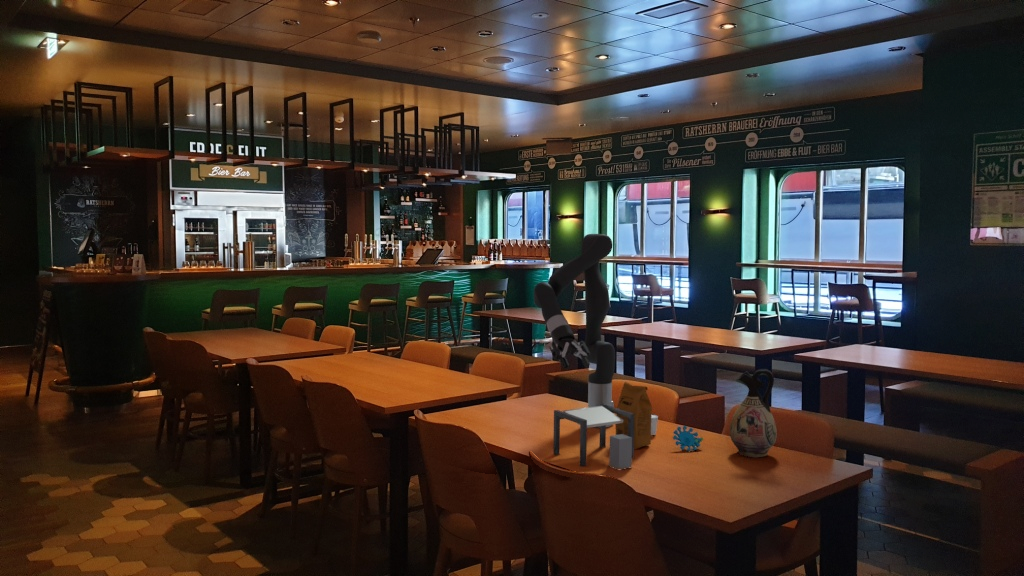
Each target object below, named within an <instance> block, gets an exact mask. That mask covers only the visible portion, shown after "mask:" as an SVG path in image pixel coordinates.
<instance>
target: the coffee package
mask: <svg viewBox="0 0 1024 576" xmlns="http://www.w3.org/2000/svg"><path fill="white" fill-rule="evenodd" d="M622 385H623V386H622V388H621V392H620V395H619V399H618V403H617V405H616V406H617V407H616V408H617V409H621V410H624V411H627V412H630V413H634V414H635V415H634V450H638V449H639V448H642V447H647V446H650V445H651V444H652V441H651V438H652V436H651V414H652V411H653V407H652V406H653V405H652V403H651V400H650V398H649V396H648V392H647V391H648V386H645V385H632V384H630V383H629V382H628V381H625V382H624V383H623V384H622ZM615 415H616V416H618V417H620V418H621V419H623V423H619V424H614V425H615V435H620V434H623V435H626V436H628V418H627V417H624V416H621V415H618V414H615Z"/></svg>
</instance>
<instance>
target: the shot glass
mask: <svg viewBox="0 0 1024 576" xmlns="http://www.w3.org/2000/svg"><path fill="white" fill-rule="evenodd" d="M658 419H659V415H656V414H652V413H651V435H655V434H656V435H657V429H658ZM656 435H655V436H656Z"/></svg>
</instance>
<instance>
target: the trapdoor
mask: <svg viewBox="0 0 1024 576" xmlns="http://www.w3.org/2000/svg"><path fill="white" fill-rule="evenodd" d="M562 412H565V413H568V414H571V415H574V416H576V417H579V418H582V419H585V420H587V429H588V428H598V427H597V426H604V425H611V424H613V425H615V424H619V423H623V419H621V418H620V417H618V416H616V414H615V413H612V412H610V411H609V410H607V409H606V408H604V407H603V406H596V407H588V406H587V407H581V408H573V409H564V410H562ZM576 424H578V423H576ZM578 425H579V426H580V424H578ZM611 426H612V425H611Z"/></svg>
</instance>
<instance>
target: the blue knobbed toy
mask: <svg viewBox="0 0 1024 576" xmlns="http://www.w3.org/2000/svg"><path fill="white" fill-rule="evenodd" d="M687 428H688V426H687V425H683V426H682V427H681V426H677V427H676V429H675V430H674V431H673V436H672V439H673V440H676V441H675V445H676V446H679V445H680V447H679V448H680V449H681V450H682V451H684V450H685V448H686V447H687V448H686V451H687V452H688V451H690V452H691V451H693V450H696V451H697V449H699V447H700V446H701V444H700V443H701V442H703V441H704V438H703V436H702V437H698V436H699V432H697V431H696V432H693V431H694V429H693V428H692V427H690V428H689V429H688V430H687ZM686 430H687V431H686ZM692 432H693V433H692ZM695 446H696V447H695ZM691 447H692V449H691Z"/></svg>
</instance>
